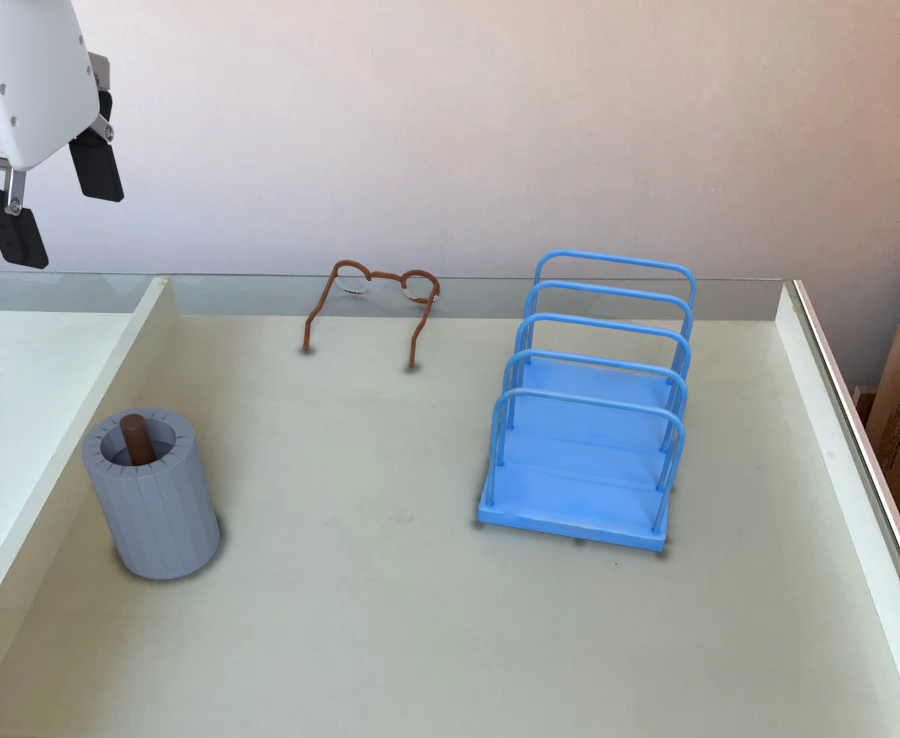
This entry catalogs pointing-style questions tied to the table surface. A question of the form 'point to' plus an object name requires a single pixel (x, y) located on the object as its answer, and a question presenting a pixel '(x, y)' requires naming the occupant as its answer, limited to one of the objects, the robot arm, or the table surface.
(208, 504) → the pen holder
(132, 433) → the brown and grey pestle
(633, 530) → the file sorter
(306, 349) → the glasses
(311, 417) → the table surface
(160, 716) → the table surface
